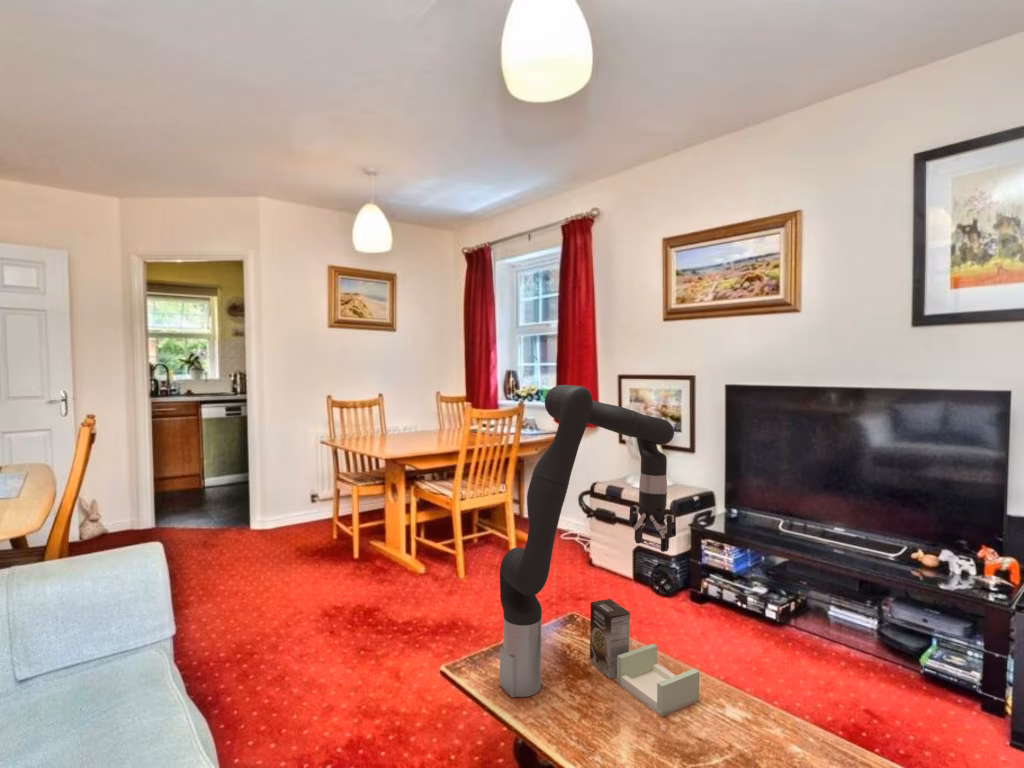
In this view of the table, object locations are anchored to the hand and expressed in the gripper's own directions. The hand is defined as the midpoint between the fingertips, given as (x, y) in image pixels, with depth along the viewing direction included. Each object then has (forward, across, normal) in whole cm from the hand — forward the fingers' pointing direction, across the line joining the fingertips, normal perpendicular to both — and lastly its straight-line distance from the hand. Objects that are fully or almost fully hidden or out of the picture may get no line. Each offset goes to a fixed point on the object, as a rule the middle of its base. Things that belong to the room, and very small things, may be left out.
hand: (651, 547), depth 155 cm
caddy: (+28, +16, -17) cm, 36 cm away
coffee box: (+28, +1, -18) cm, 34 cm away
